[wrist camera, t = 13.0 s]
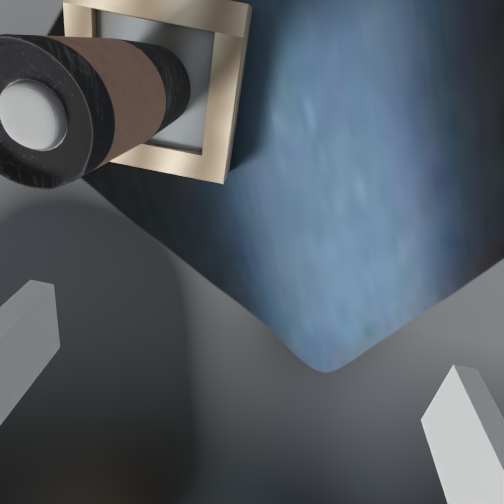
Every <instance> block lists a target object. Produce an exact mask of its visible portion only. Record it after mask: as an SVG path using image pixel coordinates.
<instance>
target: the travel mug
mask: <svg viewBox="0 0 504 504" xmlns="http://www.w3.org/2000/svg"><path fill="white" fill-rule="evenodd" d="M189 99H190V80H189V76H188V74H187V71H186V69H185V67H184V65H183V64H182V62H181V61H180V60H179V58H178V57H177V56H176V55H175V54H173V53H172V52H171V51H169V50H168V49H166V48H164V47H161V46H158V45H154V44H149V43H142V42H136V41H129V40H122V39H114V38H92V37H65V36H38V35H11V34H4V35H0V175H2V176H3V177H5V178H7V179H8V180H11V181H13V182H15V183H17V184H20V185H23V186H27V187H31V188H35V189H44V190H47V189H48V190H49V189H53V188H56V187H59V186H61V185H65V184H67V183H70V182H73V181H75V180H76V179H78V178H80V177H82V176H84V175H86V174H87V173H89V172H91V171H93V170H95V169H96V168H98V167H100V166H102V165H104V164H105V163H107V162H109V161H111V160H113V159H114V158H116V157H118V156H120V155H122V154H124V153H125V152H127V151H129V150H131V149H133V148H134V147H136V146H138V145H140V144H142V143H143V142H145V141H147V140H149V139H150V138H151V137H153V136H154V135H156V134H157V133H159V132H160V131H161V130H163V129H164V128H166V127H167V126H168V125H170V124H171V123H173V122H174V121H175V120H177V119H178V118H179V117H180V116H181V115H182V114H183V112H184V111H185V109H186V107H187V105H188V102H189Z"/></svg>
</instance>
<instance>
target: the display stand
mask: <svg viewBox="0 0 504 504" xmlns="http://www.w3.org/2000/svg"><path fill="white" fill-rule="evenodd" d="M63 9H64V26H65V37H92V38H114V39H122V40H129V41H136V42H142V43H149V44H154V45H158V46H161V47H164V48H166V49H168V50H169V51H171V52H172V53H173V54H175V55H176V56H177V57H178V58H179V60H180V61H181V62H182V64H183V65H184V67H185V69H186V71H187V74H188V76H189V80H190V99H189V102H188V105H187V107H186V109H185V111H184V112H183V114H182V115H181V116H180V117H179V118H178V119H177V120H175V121H174V122H173V123H171V124H170V125H168V126H167V127H166V128H164V129H163V130H161V131H160V132H159V133H157V134H156V135H154V136H153V137H151V138H150V139H149V140H147V141H145V142H143V143H142V144H140V145H138V146H136V147H134V148H133V149H131V150H129V151H127V152H125V153H124V154H122V155H120V156H118V157H116V158H114V159H113V160H111V161H110V162H115V163H120V164H125V165H130V166H135V167H140V168H145V169H150V170H155V171H160V172H165V173H170V174H175V175H180V176H185V177H190V178H196V179H201V180H206V181H211V182H216V183H221V184H223V183H224V181H225V179H226V177H227V175H228V173H229V169H230V162H231V155H232V148H233V141H234V134H235V128H236V121H237V114H238V107H239V100H240V93H241V86H242V79H243V72H244V65H245V58H246V51H247V44H248V37H249V30H250V23H251V16H252V9H253V7H252V6H251V5H249V4H246V3H241V2H236V1H231V0H63Z"/></svg>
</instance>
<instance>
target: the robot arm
mask: <svg viewBox="0 0 504 504" xmlns="http://www.w3.org/2000/svg"><path fill="white" fill-rule="evenodd" d="M59 348H60V344H59V333H58V323H57V313H56V303H55V293H54V285H53V284H49V283H44V282H39V281H33V280H30V281H29V282H28V283H27V284H25V285H24V286H23V287H22V288H21V289H20V290H19V291H18V292H17V293H15V294H14V296H12V297H11V298H10V299H9V300H8V301H7V302H6V303H4V304H3V305H2V306H1V307H0V425H1V423H2V422H3V421H4V420H5V418H6V417H7V416H8V414H9V413H10V412H11V410H12V409H13V408H14V406H15V405H16V404H17V403H18V401H19V400H20V399H21V397H22V396H23V395H24V393H25V392H26V391H27V389H28V388H29V387H30V386H31V384H32V383H33V382H34V380H35V379H36V377H37V376H38V375H39V374H40V373H41V371H42V370H43V369H44V367H45V366H46V365H47V363H48V362H49V361H50V359H51V358H52V357H53V356H54V354H55V353H56V352H57V350H58V349H59ZM421 422H422V425H423V428H424V431H425V434H426V437H427V441H428V443H429V447H430V450H431V452H432V456H433V459H434V462H435V465H436V469H437V471H438V475H439V478H440V481H441V484H442V487H443V490H444V493H445V496H446V500H447V503H448V504H504V419H503V417H502V415H501V413H500V411H499V409H498V407H497V406H496V404H495V402H494V400H493V398H492V396H491V395H490V393H489V391H488V389H487V387H486V385H485V383H484V382H483V380H482V378H481V376H480V374H479V372H478V370H477V369H473V368H468V367H463V366H458V365H453V366H452V368H451V370H450V371H449V373H448V375H447V376H446V378H445V380H444V382H443V383H442V385H441V387H440V389H439V390H438V392H437V394H436V395H435V397H434V399H433V400H432V402H431V404H430V406H429V407H428V409H427V411H426V412H425V414H424V416H423V417H422V419H421Z"/></svg>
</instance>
